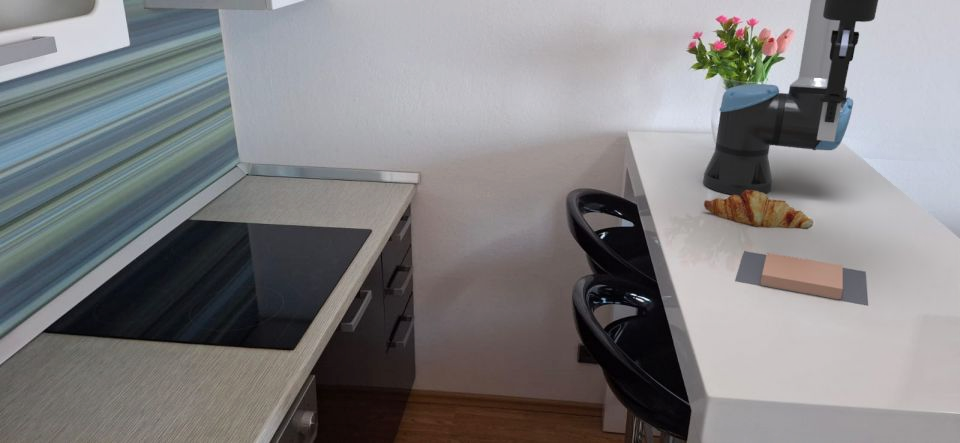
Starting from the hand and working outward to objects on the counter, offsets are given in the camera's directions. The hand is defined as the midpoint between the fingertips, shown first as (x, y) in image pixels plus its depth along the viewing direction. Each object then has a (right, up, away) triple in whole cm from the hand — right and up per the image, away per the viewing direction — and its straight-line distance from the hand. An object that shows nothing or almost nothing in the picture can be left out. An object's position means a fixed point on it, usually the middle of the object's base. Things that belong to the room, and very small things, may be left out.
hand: (825, 139), depth 126 cm
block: (-3, -21, +2) cm, 21 cm away
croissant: (-2, -14, +26) cm, 30 cm away
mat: (-4, -24, 0) cm, 24 cm away
